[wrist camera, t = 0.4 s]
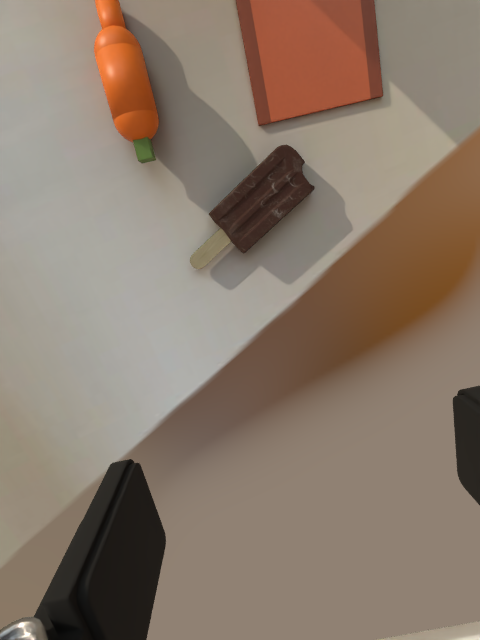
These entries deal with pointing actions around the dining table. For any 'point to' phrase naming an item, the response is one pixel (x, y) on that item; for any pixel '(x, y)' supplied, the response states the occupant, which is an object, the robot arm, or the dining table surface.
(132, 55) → the carrot
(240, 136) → the dining table surface
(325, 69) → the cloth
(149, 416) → the dining table surface
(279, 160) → the ice cream bar
